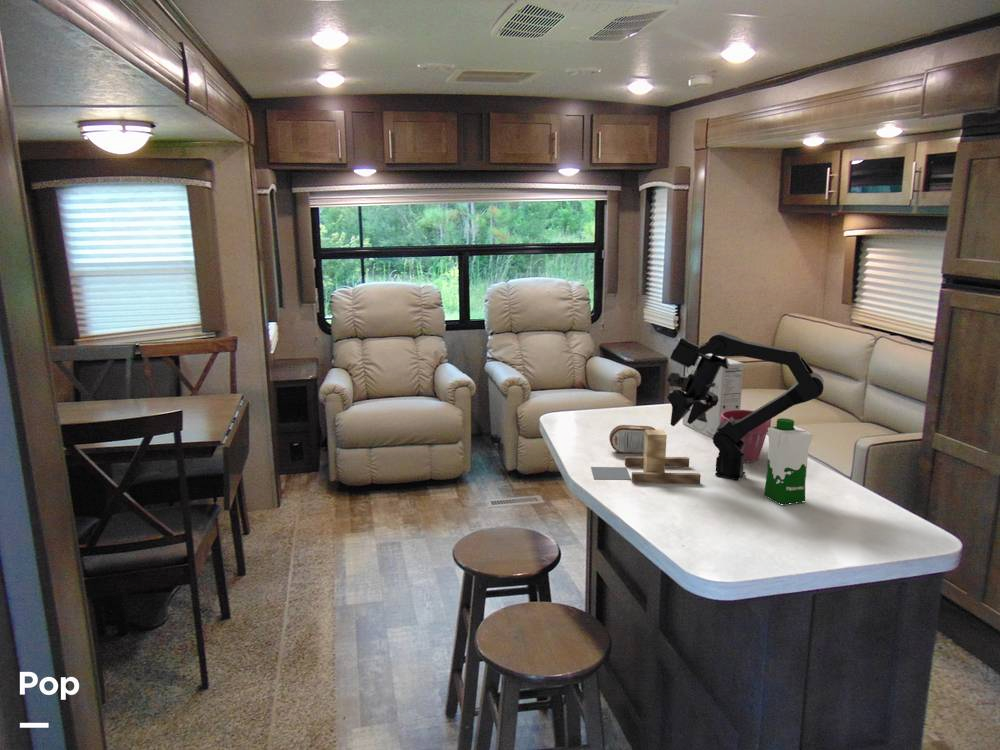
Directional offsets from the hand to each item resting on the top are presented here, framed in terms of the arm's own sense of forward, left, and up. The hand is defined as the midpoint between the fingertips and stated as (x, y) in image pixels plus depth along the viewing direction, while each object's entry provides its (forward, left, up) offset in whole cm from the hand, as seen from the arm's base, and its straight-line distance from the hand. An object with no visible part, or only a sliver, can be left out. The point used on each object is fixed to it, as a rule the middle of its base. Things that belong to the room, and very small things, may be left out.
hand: (680, 424), depth 206 cm
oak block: (+4, +9, -13) cm, 16 cm away
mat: (+13, +15, -13) cm, 24 cm away
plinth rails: (+2, +8, -13) cm, 15 cm away
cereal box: (+5, -42, -13) cm, 44 cm away
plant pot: (-12, -21, -13) cm, 27 cm away
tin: (+16, -6, -13) cm, 21 cm away
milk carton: (-31, +7, -13) cm, 34 cm away
